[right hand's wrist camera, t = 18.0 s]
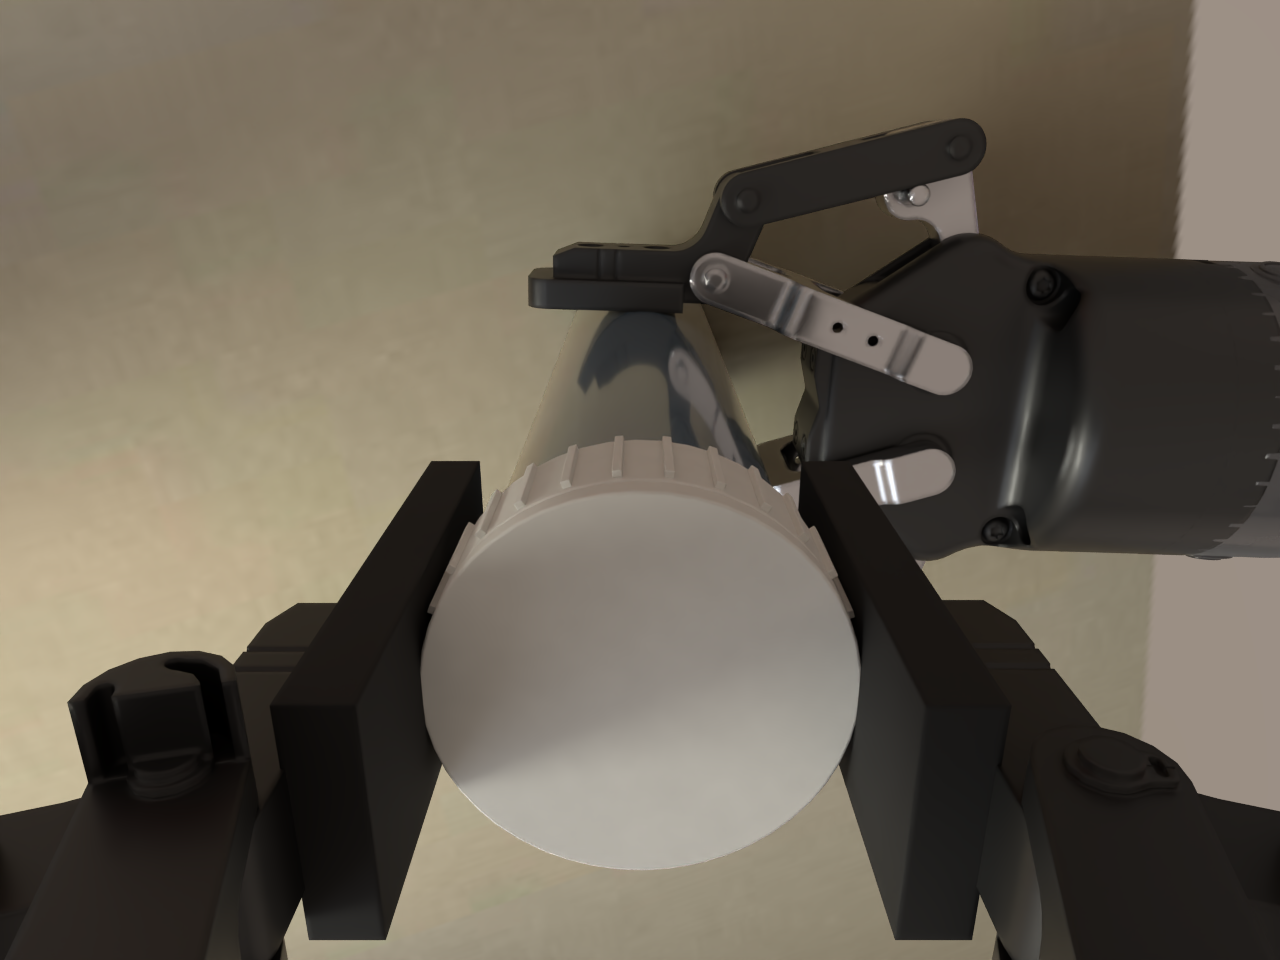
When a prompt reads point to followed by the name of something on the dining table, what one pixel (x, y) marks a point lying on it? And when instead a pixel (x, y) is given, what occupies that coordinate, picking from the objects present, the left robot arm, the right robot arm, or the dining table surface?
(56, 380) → the dining table surface
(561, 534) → the lid
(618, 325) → the jar
